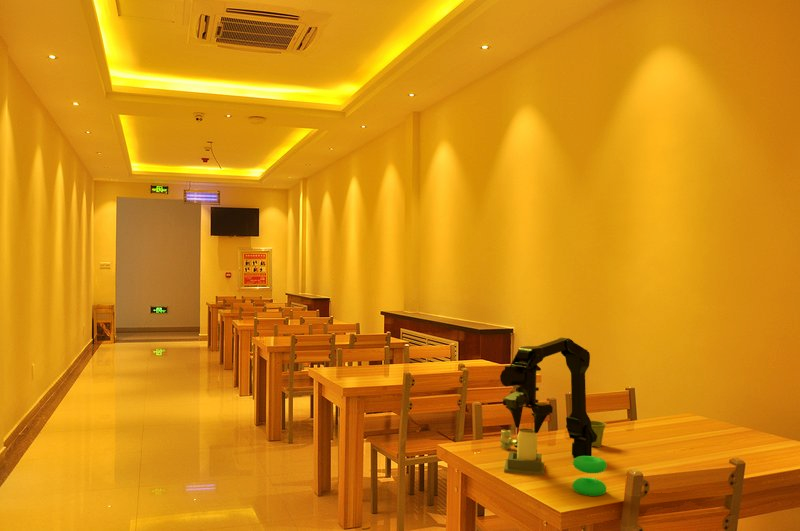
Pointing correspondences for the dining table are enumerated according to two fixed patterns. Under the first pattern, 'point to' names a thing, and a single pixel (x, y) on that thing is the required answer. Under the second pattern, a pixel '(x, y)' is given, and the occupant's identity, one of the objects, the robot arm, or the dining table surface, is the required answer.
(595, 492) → the donuts
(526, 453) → the can
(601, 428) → the plant pot
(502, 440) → the valve
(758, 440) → the dining table surface
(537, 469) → the socket holder
